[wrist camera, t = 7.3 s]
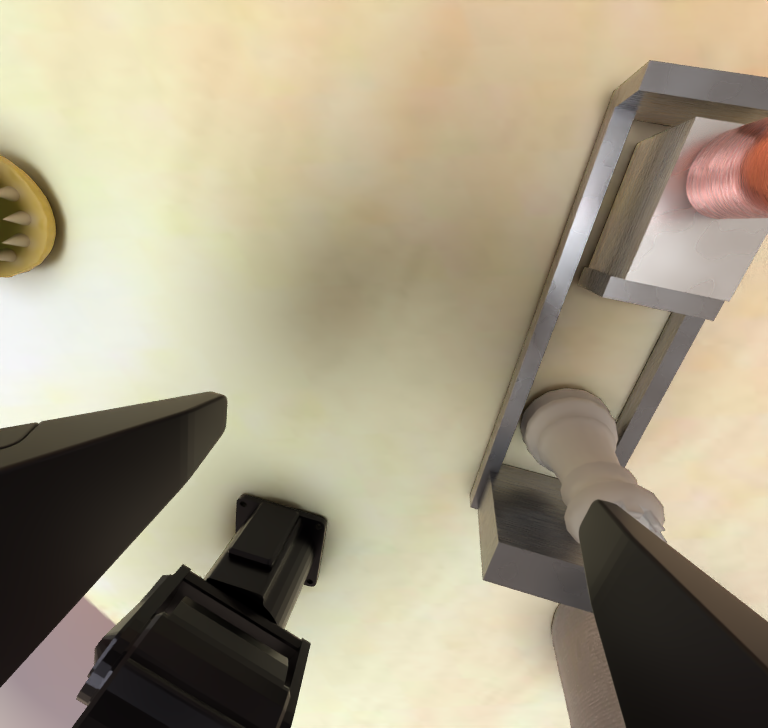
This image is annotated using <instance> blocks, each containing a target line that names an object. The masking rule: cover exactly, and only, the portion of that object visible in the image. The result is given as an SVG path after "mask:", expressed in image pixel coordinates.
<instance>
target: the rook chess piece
mask: <svg viewBox="0 0 768 728" xmlns="http://www.w3.org/2000/svg"><path fill="white" fill-rule="evenodd" d="M520 429H521V433H522V437H523V441H524V442H525V444H526V446H527V450H528V451H529V452H530V453H531V455H532V456H533V457H534V458H535V460H536V461H537V462H538V463H539V464H540V465H542V466H544V467H546V468H547V469H548V470H550V471H552V472H554V473H555V474H556V476H557V477H558V479H559V480H560V482H561V484H562V486H561V490H560V491H561V495H562V500H563V502H564V503H565V504H566V506H567V509H566V512H565V516H564V519H565V523H566V528H567V531H568V532H569V533H570V534H571V536H572V537H573V538H574V539H575V540H576V542H578V543H580V541H579V527H580V525H581V523H582V521H583V519H584V517H585V515H586V513H587V511H588V509H589V507H590V505H591V504H592V502H593V501H594V500H597V499H600V500H604V501H608V502H611V503H614V504H617V505H618V506H619V507H621V508H622V509H623V510H624V511H626V512H627V513H628V514H630V515H631V516H632V517H634V518H635V519H636V520H637V521H639V522H640V523H641V524H643V525H644V526H645V527H646V528H648V529H649V530H650V531H652V532H653V533H654V534H655V535H657V536H658V537H659V538H661V539H662V540H663V541H664V542H666V543H667V541H666V540H665V538H664V537H663V535H662V534H661V532H660V531H665V529H664V527H663V524H664V521H665V517H664V509H663V505H662V504H661V503H660V501H659V500H658V499H657V497H656V496H655V495H654V493H652V492H650V491H648V490H646V489H645V488H643V487H641V486H639V485H637V480H636V479H635V477H634V476H633V475H632V473H631V472H630V471H629V470H628V469H626V468H624V467H622V466H620V464H619V461H618V459H617V456H616V454H615V451H616V444H617V441H618V436H617V429H616V423H615V420H614V418H613V417H612V416H611V414H610V411H609V410H608V408H607V407H606V406H605V404H604V403H603V402H602V400H601V399H600V398H598V397H596V396H594V395H592V394H591V393H589V392H587V391H585V390H577V389H570V388H565V389H560V390H555V391H550V392H547V393H546V394H544V395H542V396H540V397H539V398H537V399H535V400H534V401H533V402H532V403H531V404H530V406H529V407H528V408H527V409H526V411H525V412H524V413H523V418H522V422H521V426H520Z"/></svg>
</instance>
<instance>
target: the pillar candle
mask: <svg viewBox="0 0 768 728" xmlns="http://www.w3.org/2000/svg"><path fill="white" fill-rule="evenodd" d="M552 639H553V646H554V650H555V655H556V660H557V665H558V669H559V674H560V678H561V683H562V687H563V691H564V696H565V700H566V705H567V710H568V714H569V719H570V725H571V728H626V727H625V724H624V720H623V716H622V713H621V709H620V706H619V702H618V699H617V695H616V692H615V688H614V685H613V681H612V678H611V674H610V671H609V667H608V664H607V660H606V656H605V653H604V649H603V646H602V642H601V639H600V635H599V632H598V628H597V625H596V621H595V618H594V614H593V613H591V612H587V611H584V610H581V609H577V608H574V607H571V606H567V605H564V604H561V603H560V604H559V606H558V607H557V609H556V611H555V614H554V619H553V624H552Z"/></svg>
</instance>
